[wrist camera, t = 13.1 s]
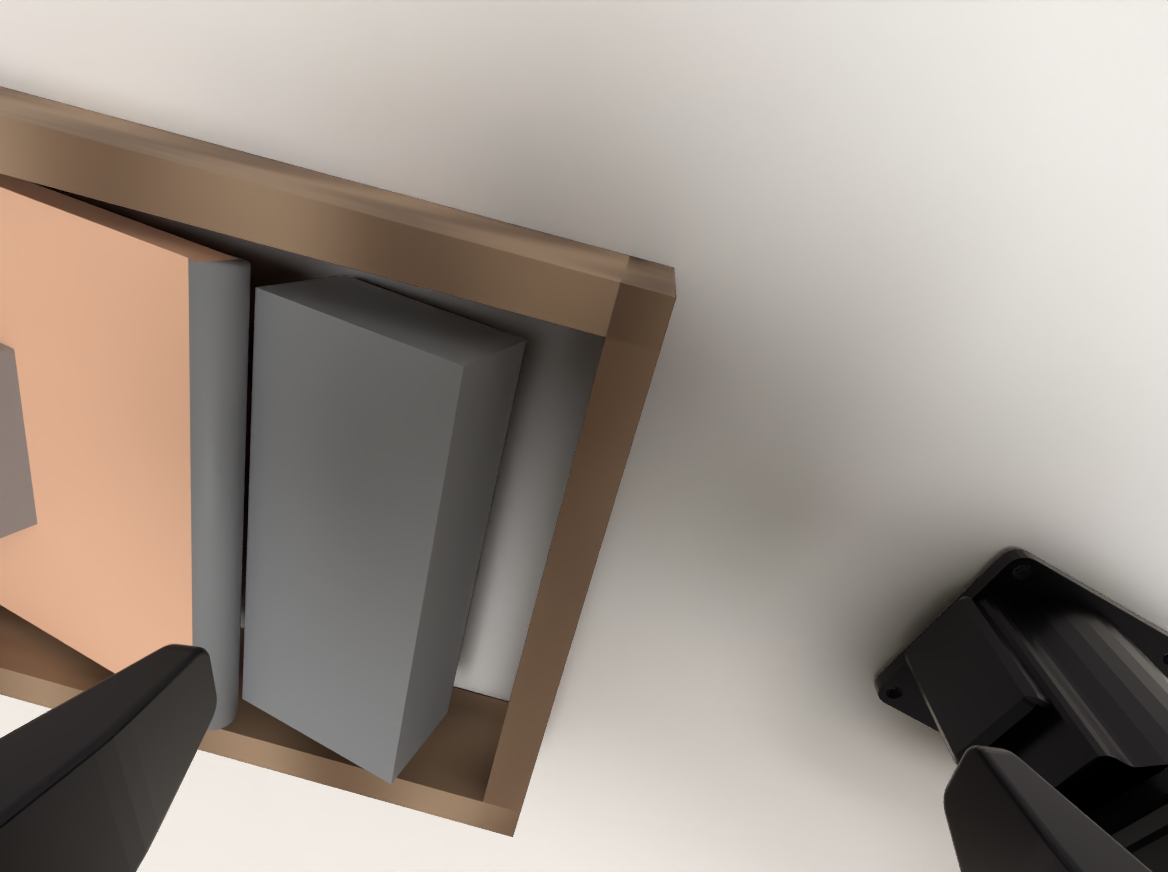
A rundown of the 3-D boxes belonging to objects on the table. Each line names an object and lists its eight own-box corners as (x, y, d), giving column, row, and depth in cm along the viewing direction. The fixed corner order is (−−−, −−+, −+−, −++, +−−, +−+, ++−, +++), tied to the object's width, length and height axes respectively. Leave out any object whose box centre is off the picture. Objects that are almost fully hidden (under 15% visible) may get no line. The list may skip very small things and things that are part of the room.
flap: (530, 320, 16) (437, 353, 12) (444, 723, 22) (364, 827, 18) (-27, 125, 21) (-211, 109, 17) (23, 497, 26) (-107, 544, 23)
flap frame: (673, 268, 17) (676, 297, 13) (535, 734, 24) (512, 836, 21) (-226, 25, 17) (-465, -11, 14) (-100, 558, 24) (-234, 628, 21)
